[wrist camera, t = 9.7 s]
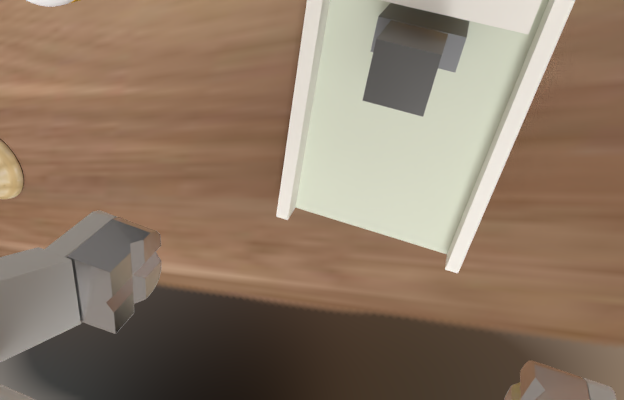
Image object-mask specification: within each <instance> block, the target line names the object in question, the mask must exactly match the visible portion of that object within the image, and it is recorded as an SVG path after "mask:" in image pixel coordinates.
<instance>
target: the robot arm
mask: <svg viewBox="0 0 624 400" xmlns="http://www.w3.org/2000/svg"><path fill="white" fill-rule="evenodd" d="M160 246H161V237H160V234H159V233H158V232H157V231H155V230H152V229H150V228H147V227H144V226H142V225H139V224H136V223H134V222H131V221H128V220H126V219H123V218H120V217H116V216H114V215H111V214H108V213H106V212H103V211H100V210H98V211H94V212H92V213H90V214H89V215H88V216H86V217H85V218H84V219H83V220H81V221H80V222H79V223H77V224H76V225H75V226H74V227H72V228H71V229H70V230H69V231H67V232H66V233H65V234H63V235H62V236H61V237H60V238H58V239H57V240H56V241H54V242H53V243H52V244H51V245H49V246H48V247H47V248H45V249H42V248H39V247H38V248H34V249H30V250H26V251H23V252H19V253H15V254H11V255H7V256H4V257H0V362H2V361H4V360H6V359H8V358H10V357H12V356H14V355H16V354H19V353H20V352H22V351H25V350H27V349H29V348H31V347H33V346H35V345H37V344H39V343H42V342H44V341H46V340H47V339H50V338H52V337H54V336H56V335H58V334H60V333H62V332H65V331H67V330H68V329H71V328H73V327H75V326H77V325H79V324H81V322H84V323H87V324H89V325H92V326H95V327H98V328H100V329H103V330H106V331H109V332H112V333H114V334H116V333H117V332H118V331H119V329H120V328H121V327H122V326H123V325H124V324H125V323H126V322H127V320H128V319H129V318H130V317H131V316H132V315H133V314H134V303H137V302H140V301H142V300H145V299H146V298H147V297H148V296H149V295H150V294H151V293H152V291H153V290H154V288H155V286H156V284H157V282H158V280H159V277H160V272H161V260H160V258H159V256H158V255H157V253H156V251H157V250H158V248H159V247H160ZM0 400H35V399H33V398H31V397H28V396H26V395H24V394H21V393H19V392H16V391H14V390H12V389H10V388H7V387H5V386H3V385H0ZM504 400H617V399H616V395H615V392H614V391H613V389H612V388H611V387H610V386H607V385H604V384H601V383H598V382H595V381H592V380H589V379H586V378H581V377H579V376H576V375H573V374H570V373H567V372H565V371H562V370H558V369H555V368H553V367H550V366H547V365H543V364H541V363H538V362H535V361H531V360H529V361H528V362H527V363H526V364H525V365H524V366H523V368H522V370H521V371H520V383H517V384H515V385H512V386H511V387H510V389H509V391H508V392H507V394H506V396H505V399H504Z"/></svg>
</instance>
